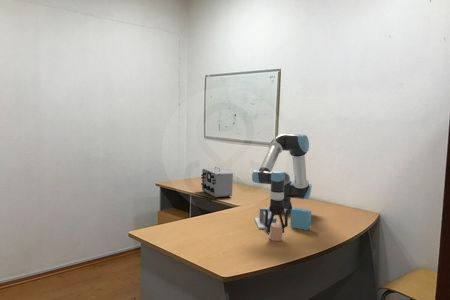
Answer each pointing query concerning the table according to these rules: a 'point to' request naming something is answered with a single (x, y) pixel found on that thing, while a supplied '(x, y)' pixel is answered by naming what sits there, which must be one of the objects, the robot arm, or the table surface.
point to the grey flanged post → (261, 219)
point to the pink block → (276, 232)
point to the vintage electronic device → (217, 182)
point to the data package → (300, 219)
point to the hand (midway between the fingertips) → (275, 238)
